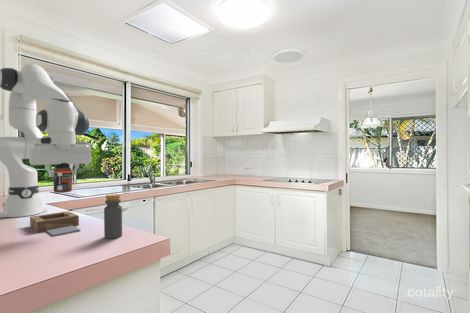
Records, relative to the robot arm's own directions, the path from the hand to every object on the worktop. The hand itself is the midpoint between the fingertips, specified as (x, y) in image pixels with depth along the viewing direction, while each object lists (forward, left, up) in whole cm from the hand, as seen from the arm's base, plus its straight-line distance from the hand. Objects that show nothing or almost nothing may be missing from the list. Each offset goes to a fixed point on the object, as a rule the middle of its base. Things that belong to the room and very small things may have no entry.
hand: (62, 176), depth 102 cm
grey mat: (0, 0, -22) cm, 22 cm away
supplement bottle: (0, 0, -6) cm, 6 cm away
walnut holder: (-13, 0, -22) cm, 25 cm away
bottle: (+21, +10, -22) cm, 32 cm away
